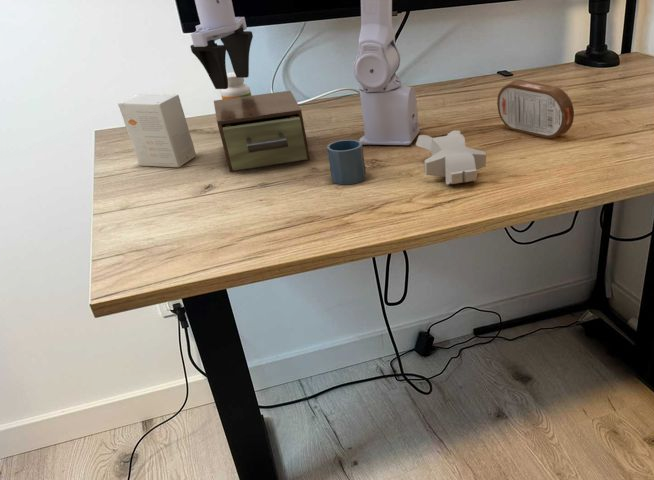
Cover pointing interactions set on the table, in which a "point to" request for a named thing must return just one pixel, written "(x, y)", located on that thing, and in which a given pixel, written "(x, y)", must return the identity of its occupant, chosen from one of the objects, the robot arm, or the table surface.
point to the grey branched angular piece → (451, 158)
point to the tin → (535, 108)
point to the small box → (157, 130)
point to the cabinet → (256, 113)
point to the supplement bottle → (235, 87)
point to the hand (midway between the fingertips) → (232, 82)
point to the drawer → (265, 142)
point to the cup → (346, 162)
